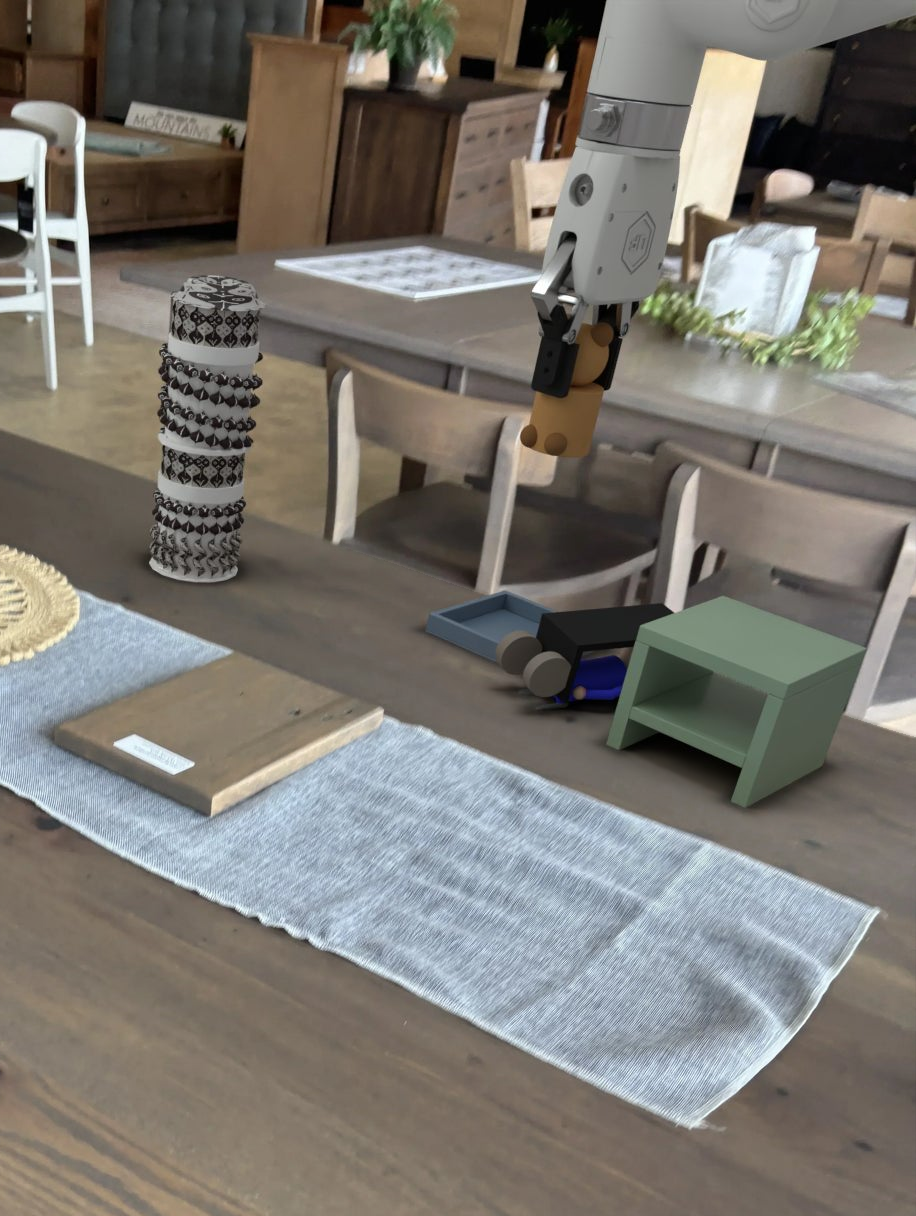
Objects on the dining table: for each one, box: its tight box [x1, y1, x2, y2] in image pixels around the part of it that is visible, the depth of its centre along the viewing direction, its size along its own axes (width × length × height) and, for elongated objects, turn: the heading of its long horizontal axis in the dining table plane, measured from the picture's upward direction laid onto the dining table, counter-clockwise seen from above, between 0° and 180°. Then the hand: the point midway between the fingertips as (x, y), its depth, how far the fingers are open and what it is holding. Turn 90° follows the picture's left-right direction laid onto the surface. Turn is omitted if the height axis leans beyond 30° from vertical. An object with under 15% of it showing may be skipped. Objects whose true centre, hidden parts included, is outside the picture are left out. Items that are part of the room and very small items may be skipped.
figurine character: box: [495, 602, 675, 711], centre depth 114 cm, size 7×8×15 cm
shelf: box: [605, 595, 868, 809], centre depth 107 cm, size 12×12×10 cm
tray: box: [425, 590, 599, 664], centre depth 125 cm, size 11×11×2 cm
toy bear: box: [519, 313, 613, 458], centre depth 113 cm, size 6×5×10 cm
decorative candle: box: [148, 274, 267, 583], centre depth 126 cm, size 9×9×25 cm
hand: (570, 387), depth 113 cm, fingers closed on toy bear, 5 cm apart
